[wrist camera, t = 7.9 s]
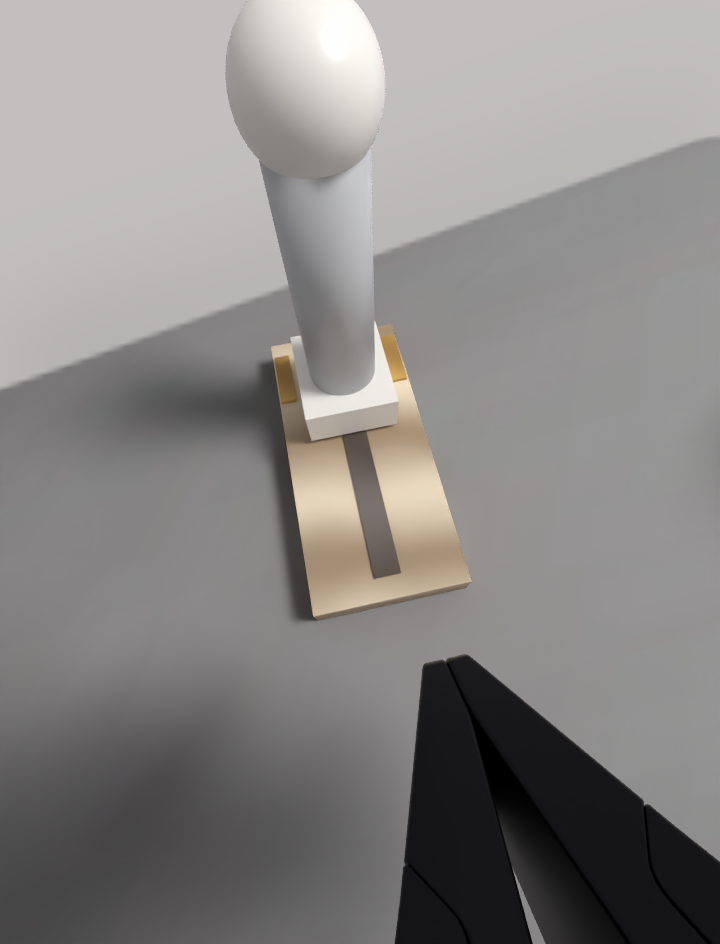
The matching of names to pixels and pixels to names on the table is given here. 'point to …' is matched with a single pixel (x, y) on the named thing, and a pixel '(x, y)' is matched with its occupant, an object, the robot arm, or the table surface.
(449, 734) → the robot arm
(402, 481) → the fader track
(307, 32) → the lever
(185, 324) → the table surface
